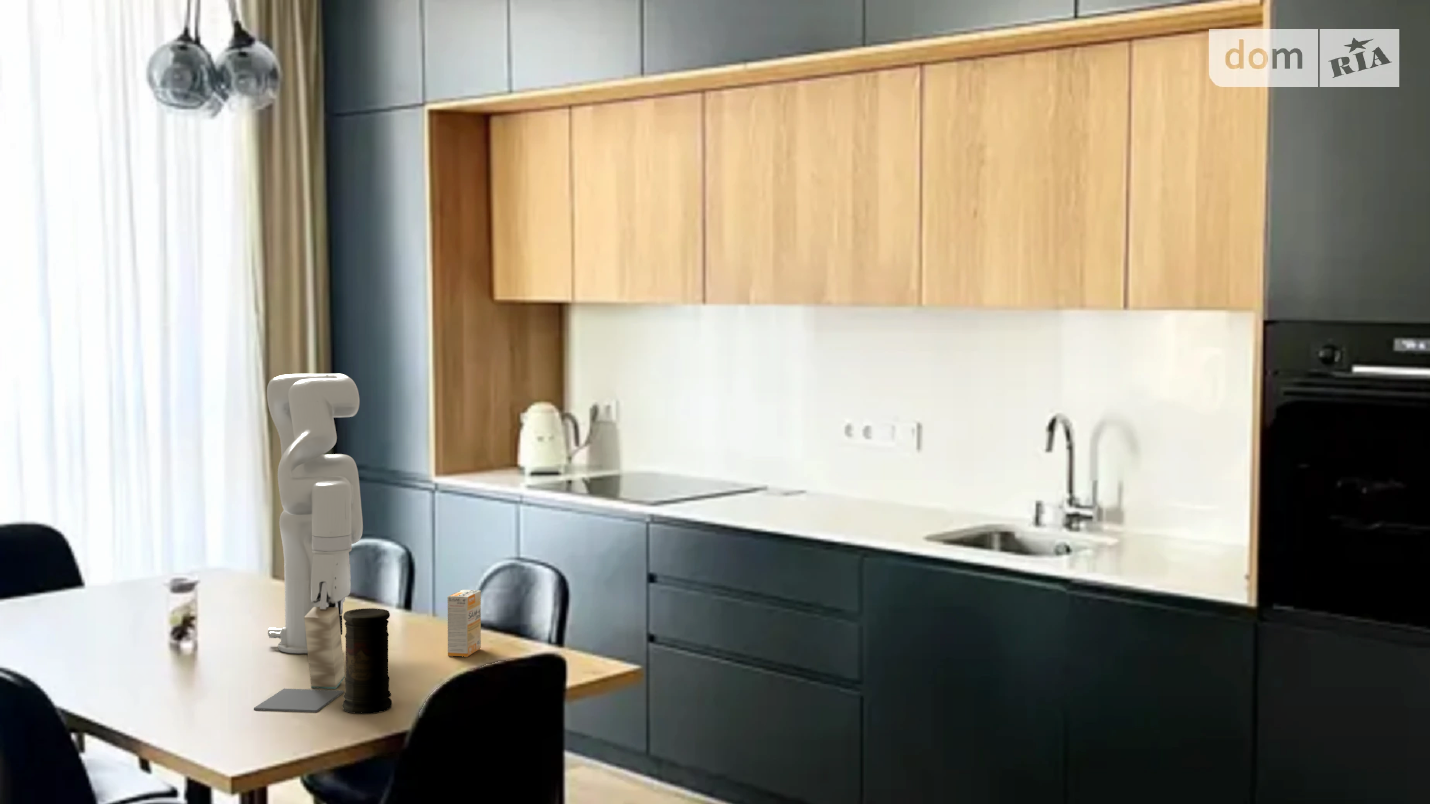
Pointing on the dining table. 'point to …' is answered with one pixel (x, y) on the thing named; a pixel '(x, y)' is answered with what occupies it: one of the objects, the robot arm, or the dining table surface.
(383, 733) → the dining table surface
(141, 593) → the dining table surface
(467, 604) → the supplement box
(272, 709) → the mat
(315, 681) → the beige patterned box
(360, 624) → the container
